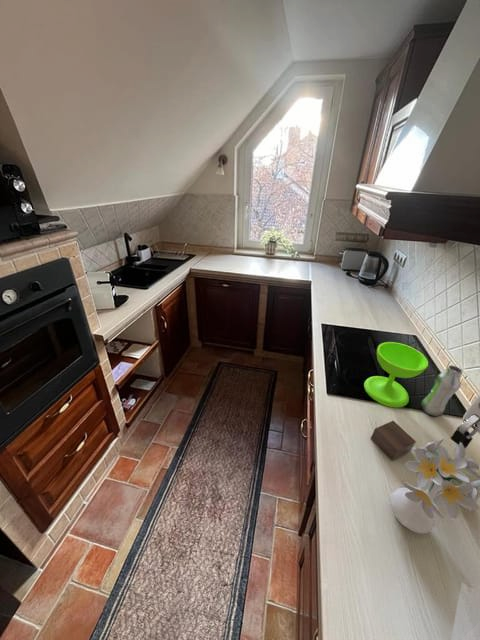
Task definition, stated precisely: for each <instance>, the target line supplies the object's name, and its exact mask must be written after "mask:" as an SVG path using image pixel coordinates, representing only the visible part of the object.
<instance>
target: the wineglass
mask: <svg viewBox="0 0 480 640" xmlns="http://www.w3.org/2000/svg"><path fill="white" fill-rule="evenodd" d="M376 358H377V362H378V364H379V365H380V367H381V368H382V370H384V372H386V373H387V374H389V376H388V377H386V376H381V375H380V376H379V375H374V376H370V377H368V378H367V379H366V380H364V383H363V388H364V390H365V393H367V395H368V396H369V397H370V398H371V399H372V400H374V401H376V402H377V403H379V404H381V405H383V406H385V407H389V408H395V409H396V408H398V409H399V408H403V407H405V406H407V405H408V404H409V402H410V397H409V393H408V391H407V390H406V389H405V388H404V387H403V385H401V384H400V383H398V382H397V381H396V380H395V379H396V378H401V379H409V378H415V377H417V376H419V375H421V374H422V373H424V371H425V370H426V369H427V368H428V366H429V360H428V359H427V357H426V356H425V355H424V354H423V353H422V352H420V350H418V349H416V348H414V347H412V346H409V345H408V344H403V343H402V342H401V343H400V342H394V341H385V342H382V343H380V344H378V346H377V348H376Z"/></svg>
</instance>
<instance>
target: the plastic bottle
mask: <svg viewBox="0 0 480 640" xmlns="http://www.w3.org/2000/svg"><path fill="white" fill-rule="evenodd" d="M462 375H463V370H462V369H461V368H460V367H458V366H455V365H449V366H447V368H446V369H445V371H444V372H441V373H439V374H437V375H436V377H435V380H434V382H433V385H432V387H431V390H430V391H429V393H427V395H426V396H425V397H423V399H422V400H421V403H420V406H421V409H422V411H424V412H425V413H426V414H428V415H430V416H433V417H438V416H442V415H443V413H445V410H446V407H447V404H448V402H449V400H450V399H451V398H452V396H453V395H454V394H456V392H457V391H458V390H459V389H460V388H461V385H462V383H461V379H460V378H461V377H462Z"/></svg>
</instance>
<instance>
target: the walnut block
mask: <svg viewBox="0 0 480 640" xmlns="http://www.w3.org/2000/svg"><path fill="white" fill-rule="evenodd" d="M370 439H371V440H372V442H373V443H374V444H375V445H376V446H377V447H378V448H379V449H380V450H381V452H383V454H385V455H386V457H387V458H388V459H389V460H390V461H391V462H392V461H395V460H396V459H398V458H400V457H402V456H404V455H406V454H408V453H410V452H412V451H411V450H412V449H413V448H414V446H415V445H416V442H417V441H416V440H415V439H414V438H413V437H412V436H411V435H409V433H407V431H405V430H404V428H402V427H401V426H400V425H399V424H398V423H397V422H396V421H394V420H391V421H389V422H386V423H384V424H382V425H380V426H377V427H375V428H374V430H373V431H372V434H371V437H370Z"/></svg>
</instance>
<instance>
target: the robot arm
mask: <svg viewBox="0 0 480 640" xmlns="http://www.w3.org/2000/svg"><path fill="white" fill-rule="evenodd" d="M470 429H473V430H472V431H469V430H470ZM477 433H478V434H480V393H479V394H478V395H477V396H476V398H475V399H474V401H473V402H472V403H471V404H470V406H469V407H468V408H467V410H466V411H465V413H464V414H463V416H462V423H461V424H460V425H459V426H458V427H457V428H456V429H455V431H454V432H453V434H452V435H451V437H450V439H451V440H452V441H453V442H454V444H456V445H457V446H459V443H460V442H461V443H462V444H463V446H464V448H465V449H467V447H468V446H469V445H470V443H472V441H473V439H474V438H473V437H474V436H475V435H476V434H477Z"/></svg>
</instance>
